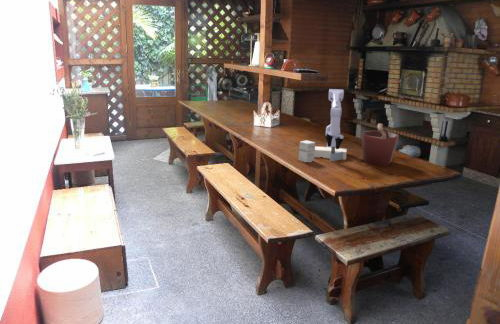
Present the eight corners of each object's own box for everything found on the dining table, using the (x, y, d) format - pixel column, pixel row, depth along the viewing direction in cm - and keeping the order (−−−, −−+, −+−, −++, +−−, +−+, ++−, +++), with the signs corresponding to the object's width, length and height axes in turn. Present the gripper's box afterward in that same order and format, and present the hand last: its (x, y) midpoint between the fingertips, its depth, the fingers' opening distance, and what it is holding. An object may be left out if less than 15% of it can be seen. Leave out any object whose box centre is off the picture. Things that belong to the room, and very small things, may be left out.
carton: (310, 153, 283) (310, 146, 282) (345, 155, 278) (346, 148, 277) (309, 156, 274) (309, 149, 272) (345, 159, 269) (346, 152, 267)
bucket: (389, 169, 249) (394, 129, 242) (353, 164, 259) (357, 125, 252) (397, 160, 269) (401, 123, 262) (363, 155, 279) (367, 119, 272)
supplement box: (298, 160, 264) (299, 141, 260) (306, 158, 269) (307, 140, 265) (306, 163, 258) (307, 143, 255) (314, 161, 263) (315, 142, 260)
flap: (329, 160, 264) (330, 147, 261) (341, 158, 269) (342, 145, 267) (331, 161, 262) (332, 147, 259) (343, 159, 267) (344, 146, 265)
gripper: (322, 125, 262) (321, 145, 265) (338, 129, 250) (336, 150, 253) (330, 124, 265) (329, 144, 269) (346, 128, 253) (344, 149, 257)
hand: (333, 147), depth 261 cm, fingers open, 7 cm apart
